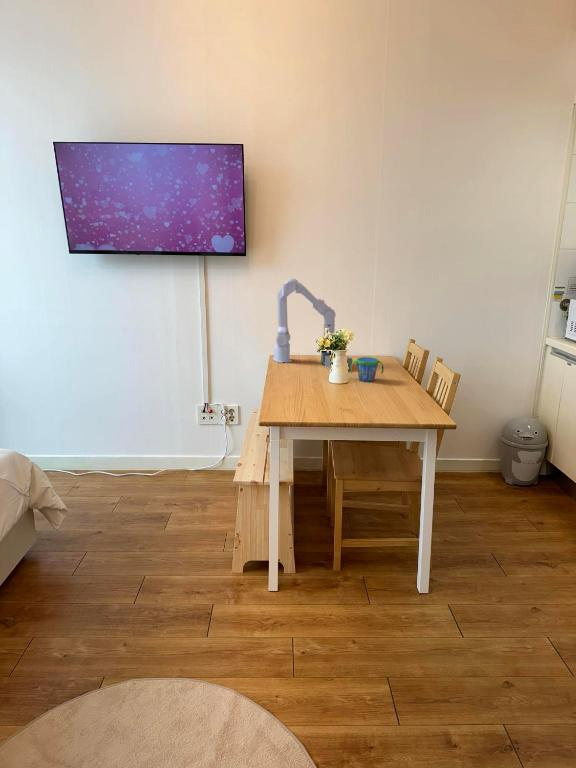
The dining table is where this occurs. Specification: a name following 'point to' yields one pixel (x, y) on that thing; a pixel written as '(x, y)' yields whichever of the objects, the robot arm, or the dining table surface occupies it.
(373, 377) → the snack cup
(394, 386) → the dining table surface
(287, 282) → the robot arm
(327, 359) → the grey stepped block
